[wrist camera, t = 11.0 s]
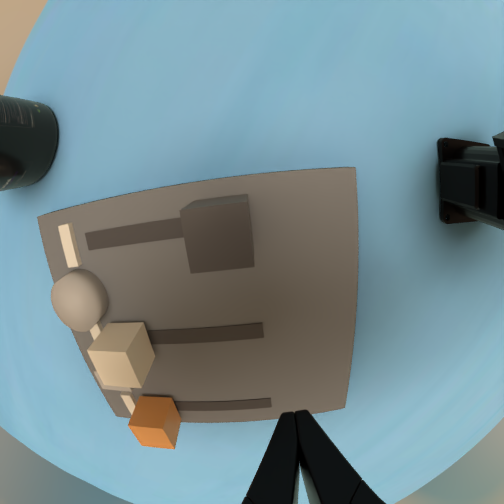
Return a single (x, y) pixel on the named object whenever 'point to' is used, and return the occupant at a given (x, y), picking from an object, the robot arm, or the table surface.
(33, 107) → the supplement bottle
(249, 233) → the dark brown slider
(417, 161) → the table surface
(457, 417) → the table surface
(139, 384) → the ivory slider
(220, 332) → the control board
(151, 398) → the orange slider
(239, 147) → the table surface
